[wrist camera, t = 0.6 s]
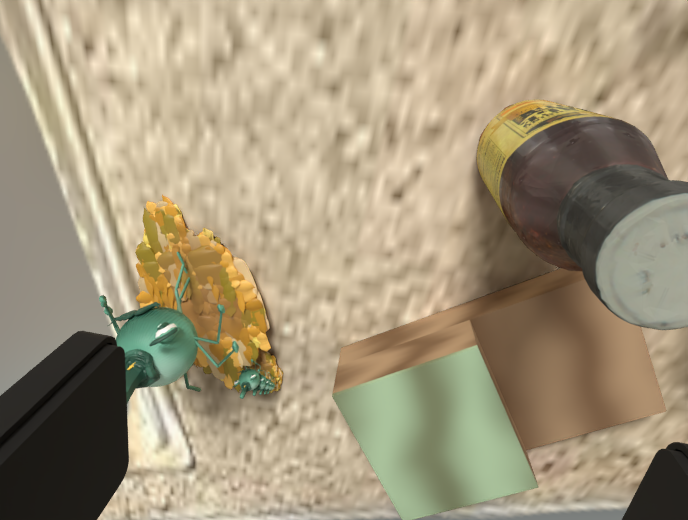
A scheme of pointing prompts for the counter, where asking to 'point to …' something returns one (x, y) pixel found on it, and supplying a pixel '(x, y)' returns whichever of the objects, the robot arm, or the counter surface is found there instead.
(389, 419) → the stand
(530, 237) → the sauce bottle
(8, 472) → the robot arm
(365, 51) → the counter surface
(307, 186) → the counter surface
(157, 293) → the teal toy figure
